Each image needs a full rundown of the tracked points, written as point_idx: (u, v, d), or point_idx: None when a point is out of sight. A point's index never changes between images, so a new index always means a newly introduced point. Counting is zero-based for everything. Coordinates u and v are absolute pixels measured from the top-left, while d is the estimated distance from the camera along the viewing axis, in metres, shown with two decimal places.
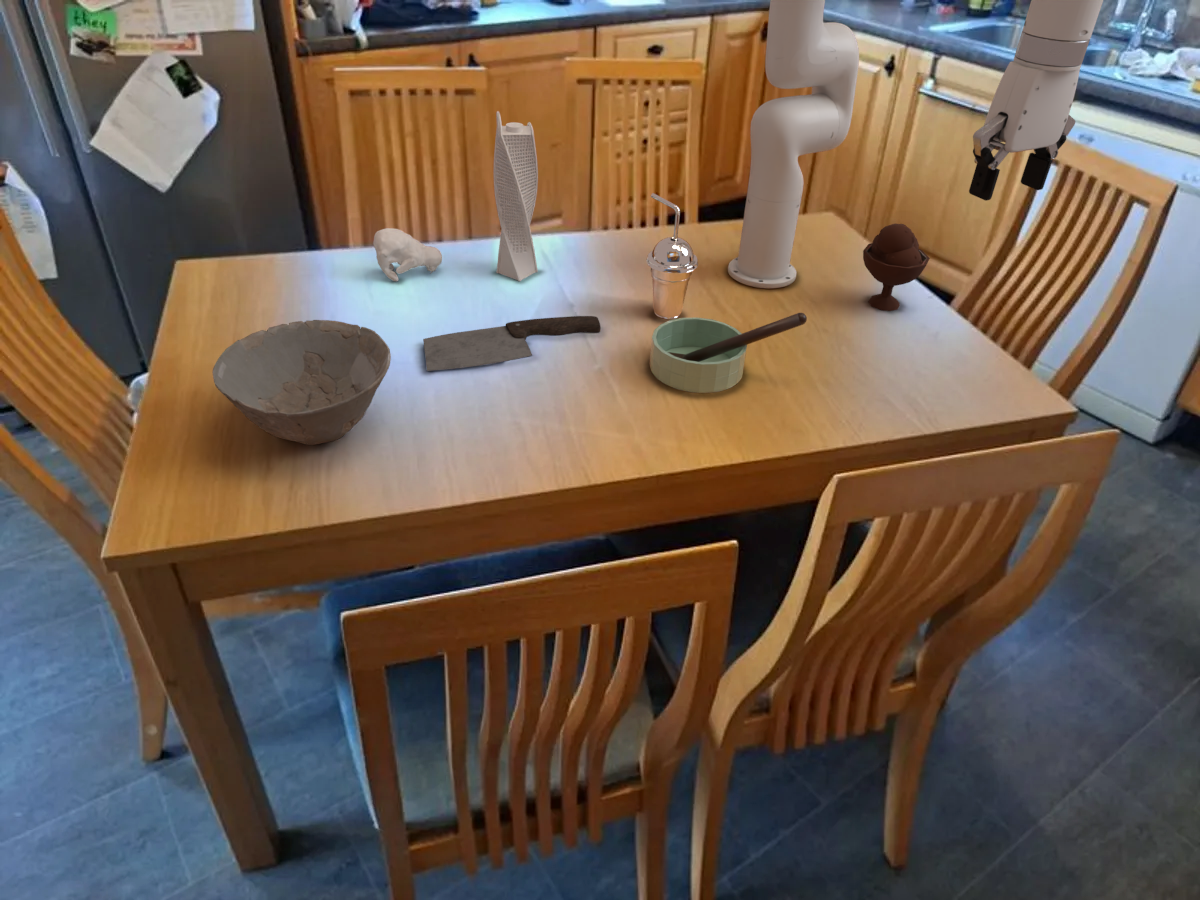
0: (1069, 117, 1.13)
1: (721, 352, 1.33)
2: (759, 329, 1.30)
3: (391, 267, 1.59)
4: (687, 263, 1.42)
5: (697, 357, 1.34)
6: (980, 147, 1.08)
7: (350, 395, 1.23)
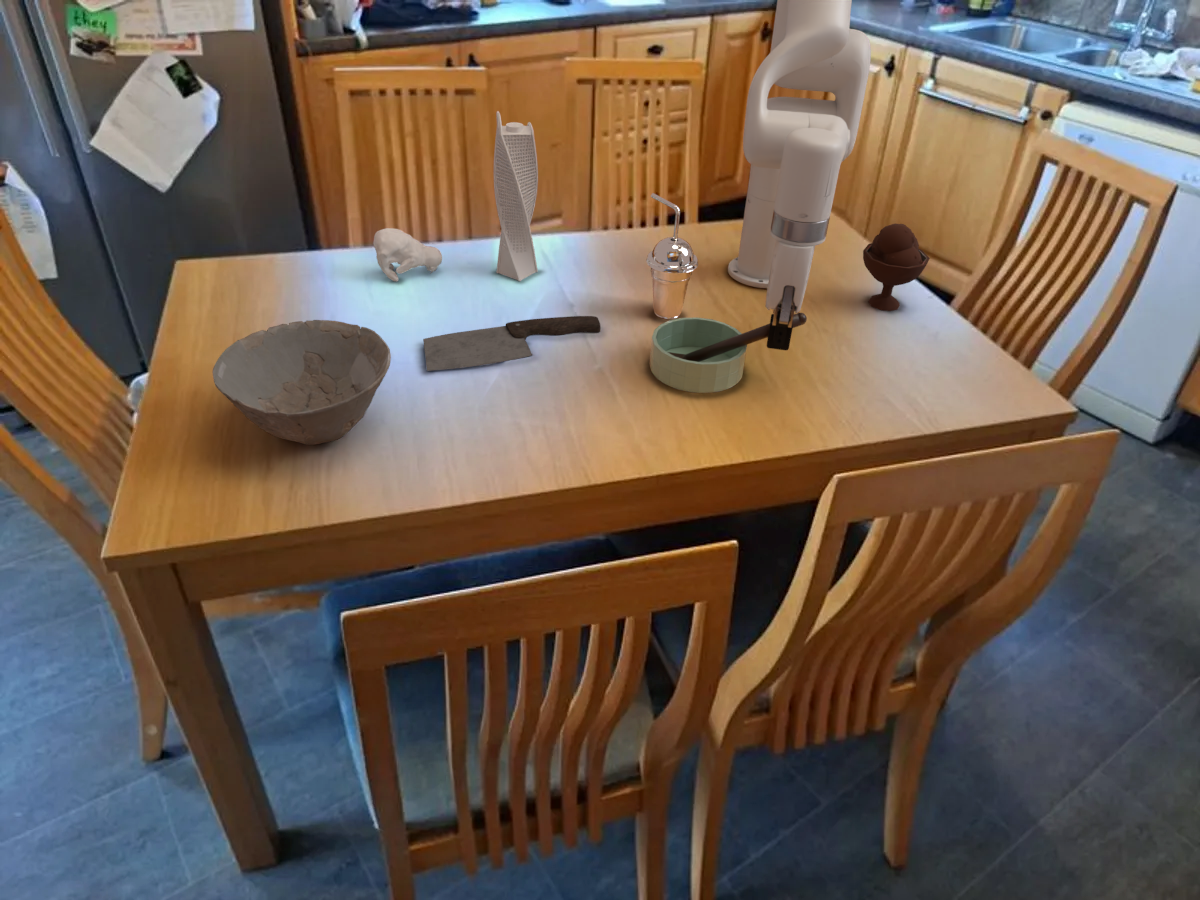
0: None
1: (721, 352, 1.33)
2: (759, 329, 1.30)
3: (391, 267, 1.59)
4: (687, 263, 1.42)
5: (697, 357, 1.34)
6: None
7: (350, 395, 1.23)
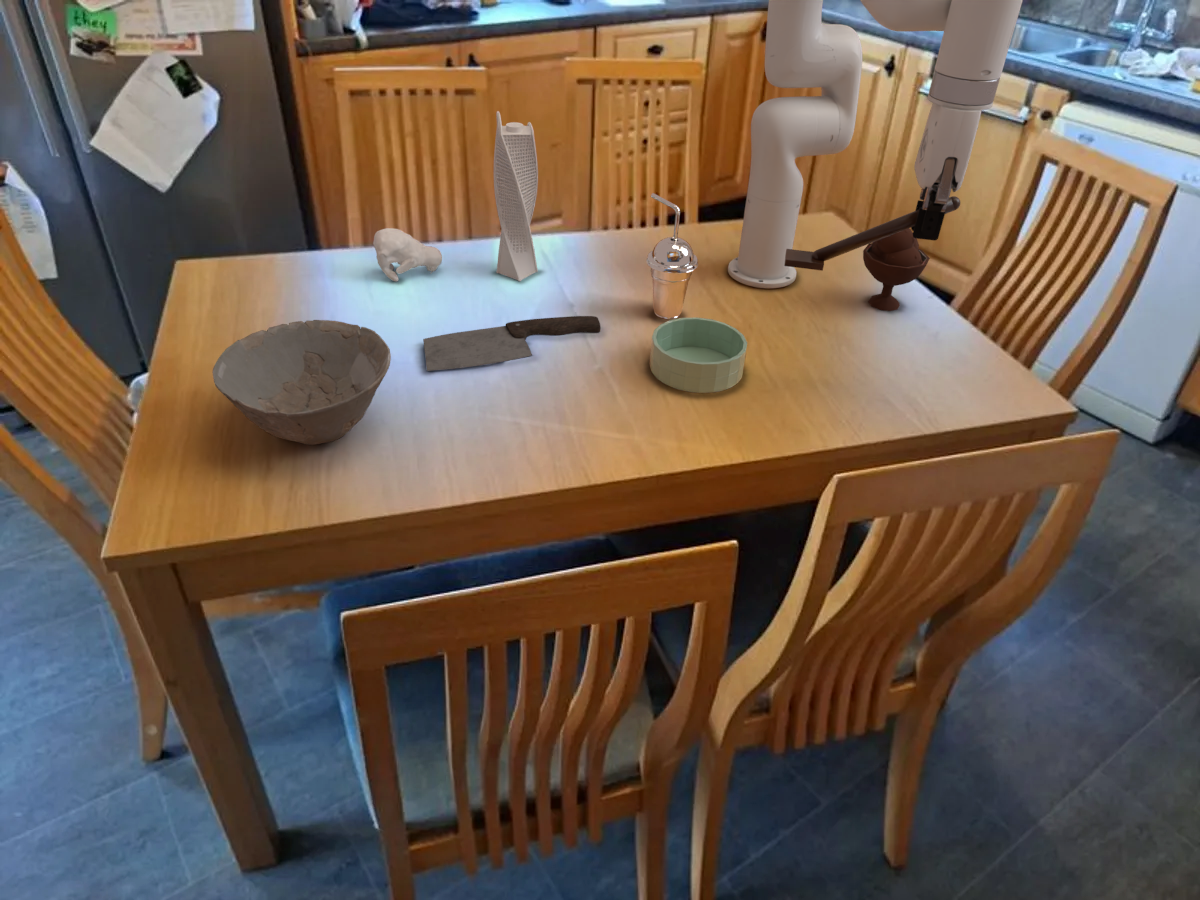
0: None
1: (858, 245, 1.19)
2: (904, 217, 1.16)
3: (391, 267, 1.59)
4: (687, 263, 1.42)
5: (830, 252, 1.20)
6: None
7: (350, 395, 1.23)
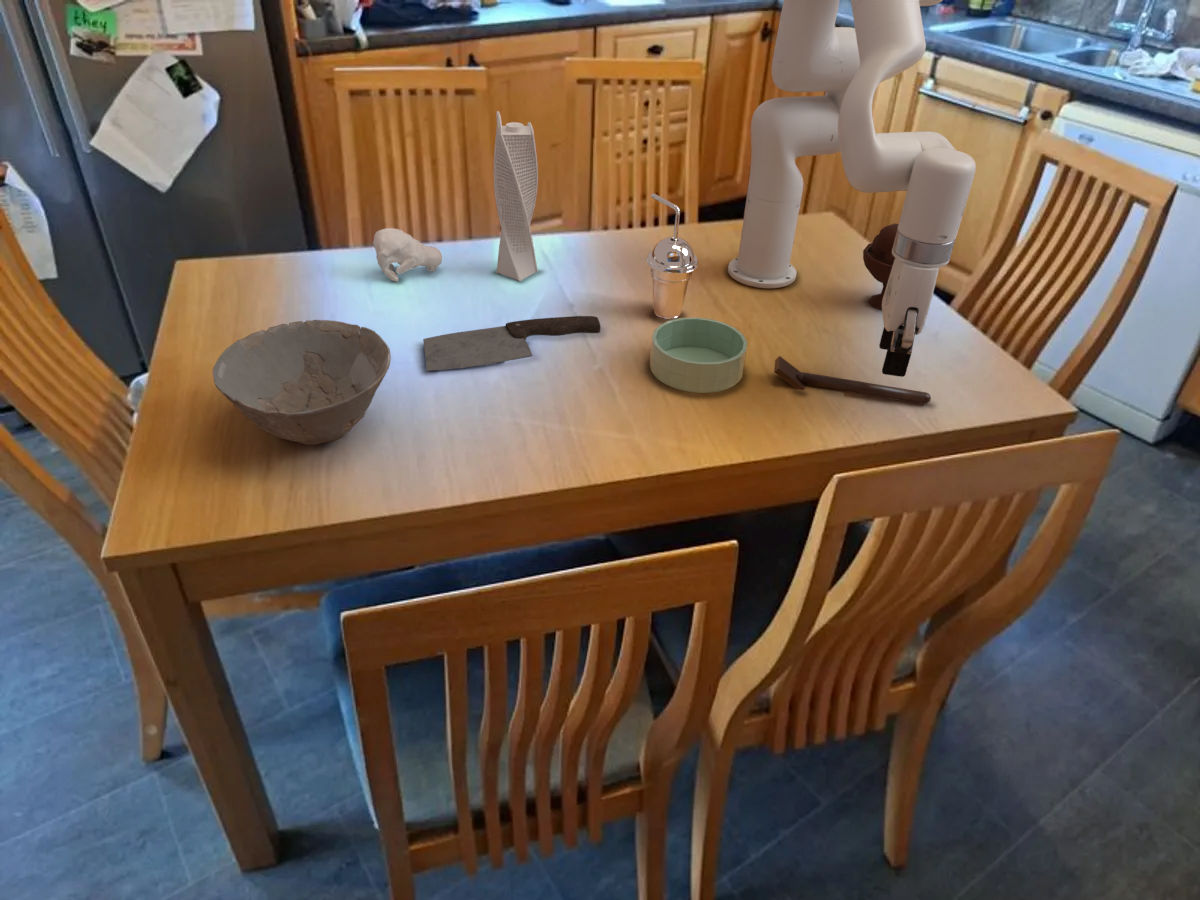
0: None
1: (838, 389, 1.32)
2: (885, 388, 1.31)
3: (391, 267, 1.59)
4: (687, 263, 1.42)
5: (814, 381, 1.32)
6: (909, 346, 1.19)
7: (350, 395, 1.23)
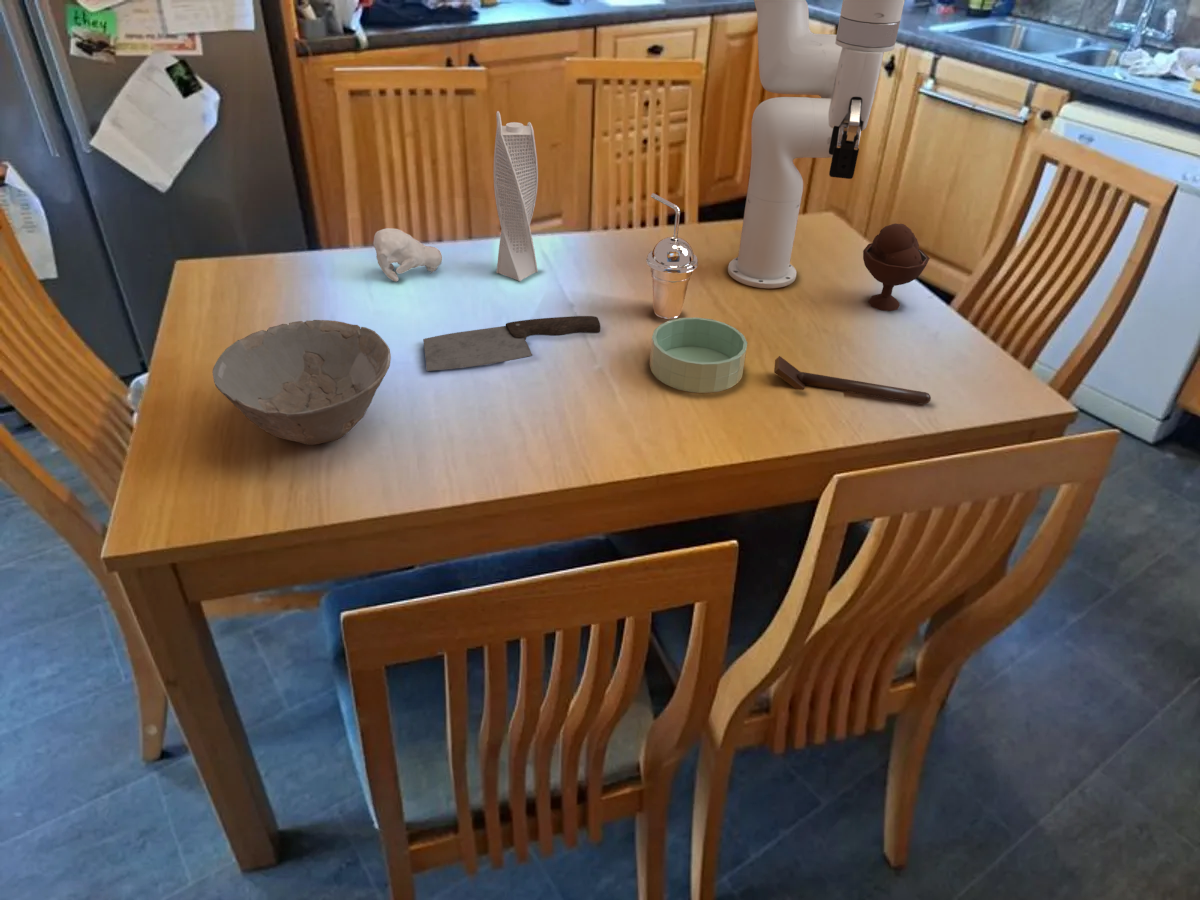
0: None
1: (838, 389, 1.32)
2: (885, 388, 1.31)
3: (391, 267, 1.59)
4: (687, 263, 1.42)
5: (814, 381, 1.32)
6: (855, 133, 1.14)
7: (350, 395, 1.23)
